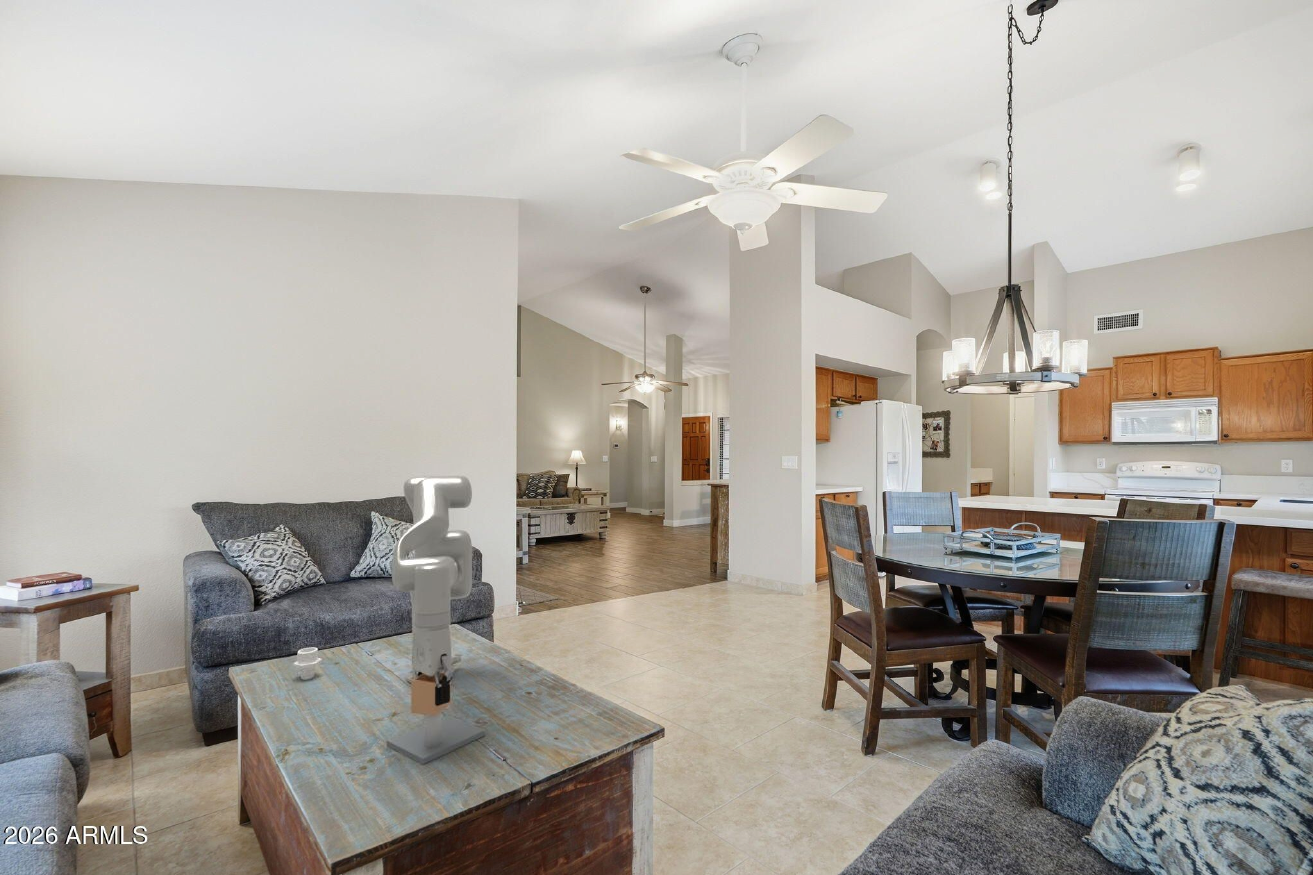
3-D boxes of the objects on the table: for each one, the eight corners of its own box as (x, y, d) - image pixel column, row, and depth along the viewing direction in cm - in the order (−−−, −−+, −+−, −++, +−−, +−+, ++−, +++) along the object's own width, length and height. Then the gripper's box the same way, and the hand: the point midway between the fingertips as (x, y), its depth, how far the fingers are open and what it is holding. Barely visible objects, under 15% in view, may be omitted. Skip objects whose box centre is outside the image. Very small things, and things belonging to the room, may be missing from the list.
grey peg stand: (448, 719, 150) (448, 673, 150) (484, 735, 141) (484, 686, 142) (386, 745, 137) (386, 695, 137) (422, 764, 128) (422, 710, 129)
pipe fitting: (310, 672, 183) (310, 645, 183) (325, 675, 179) (325, 648, 180) (289, 679, 177) (289, 651, 177) (304, 683, 174) (305, 655, 174)
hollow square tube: (427, 701, 138) (427, 670, 138) (451, 703, 137) (451, 672, 137) (411, 712, 132) (411, 680, 133) (435, 715, 131) (435, 682, 131)
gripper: (398, 615, 139) (398, 692, 138) (435, 630, 127) (435, 714, 126) (430, 609, 144) (430, 683, 144) (468, 622, 132) (468, 703, 132)
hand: (432, 697), depth 135 cm, fingers closed on hollow square tube, 8 cm apart
